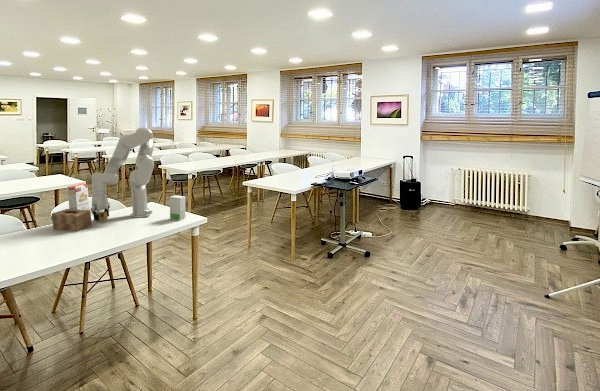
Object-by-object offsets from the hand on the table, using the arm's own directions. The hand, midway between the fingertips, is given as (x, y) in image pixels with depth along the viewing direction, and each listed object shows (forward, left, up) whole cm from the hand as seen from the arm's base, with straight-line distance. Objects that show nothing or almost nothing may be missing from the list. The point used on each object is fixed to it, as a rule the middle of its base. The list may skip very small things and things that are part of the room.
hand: (101, 218), depth 243 cm
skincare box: (-45, -16, -2) cm, 48 cm away
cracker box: (+24, -10, -2) cm, 26 cm away
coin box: (+6, +18, -2) cm, 19 cm away
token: (0, 0, -2) cm, 2 cm away
